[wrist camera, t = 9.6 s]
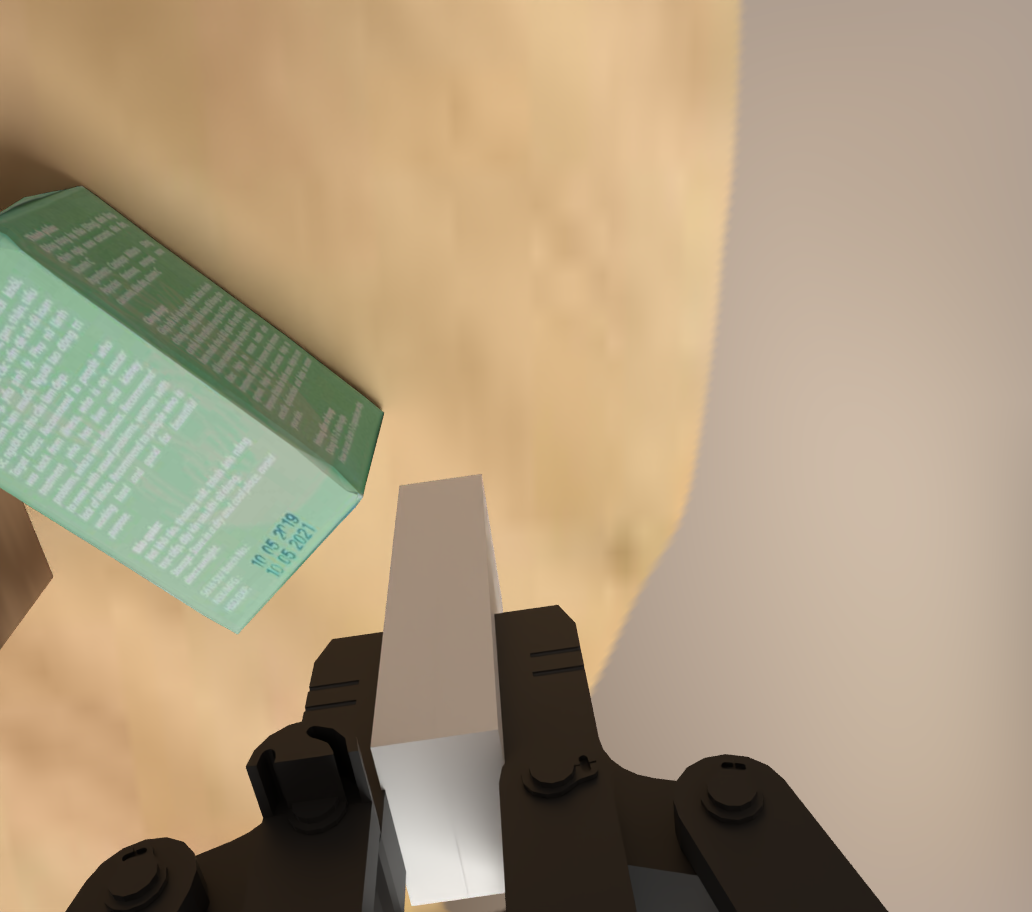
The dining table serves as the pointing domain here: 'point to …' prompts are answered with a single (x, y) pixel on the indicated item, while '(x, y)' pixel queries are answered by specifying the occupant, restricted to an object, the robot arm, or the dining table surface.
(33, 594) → the walnut angle bracket
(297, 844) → the robot arm
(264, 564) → the box
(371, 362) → the dining table surface
